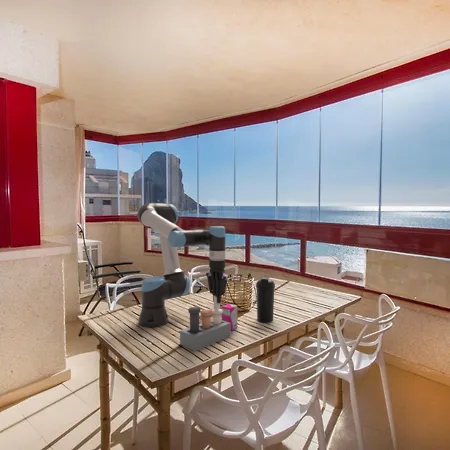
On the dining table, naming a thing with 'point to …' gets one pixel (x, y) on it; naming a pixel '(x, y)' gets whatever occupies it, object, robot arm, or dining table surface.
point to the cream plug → (217, 316)
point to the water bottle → (265, 299)
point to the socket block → (204, 335)
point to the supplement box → (230, 315)
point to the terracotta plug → (206, 319)
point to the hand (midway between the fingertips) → (216, 309)
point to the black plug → (194, 318)
